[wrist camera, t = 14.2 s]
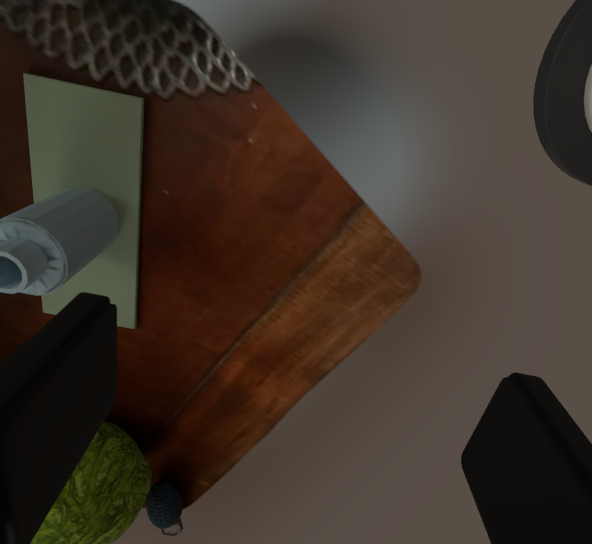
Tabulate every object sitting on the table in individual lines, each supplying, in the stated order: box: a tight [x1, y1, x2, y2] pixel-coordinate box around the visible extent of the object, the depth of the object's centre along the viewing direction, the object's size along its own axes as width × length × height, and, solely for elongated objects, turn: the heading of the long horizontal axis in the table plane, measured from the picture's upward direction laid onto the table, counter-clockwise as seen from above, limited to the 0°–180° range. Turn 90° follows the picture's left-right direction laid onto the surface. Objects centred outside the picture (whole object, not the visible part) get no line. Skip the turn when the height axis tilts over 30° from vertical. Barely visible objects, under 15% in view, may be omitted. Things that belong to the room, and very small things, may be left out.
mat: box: [23, 73, 144, 329], centre depth 40 cm, size 24×10×1 cm, turn 169°
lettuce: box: [30, 421, 152, 544], centre depth 49 cm, size 15×24×14 cm
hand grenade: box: [146, 481, 183, 536], centre depth 56 cm, size 4×4×10 cm
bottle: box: [0, 187, 119, 295], centre depth 34 cm, size 6×6×12 cm
